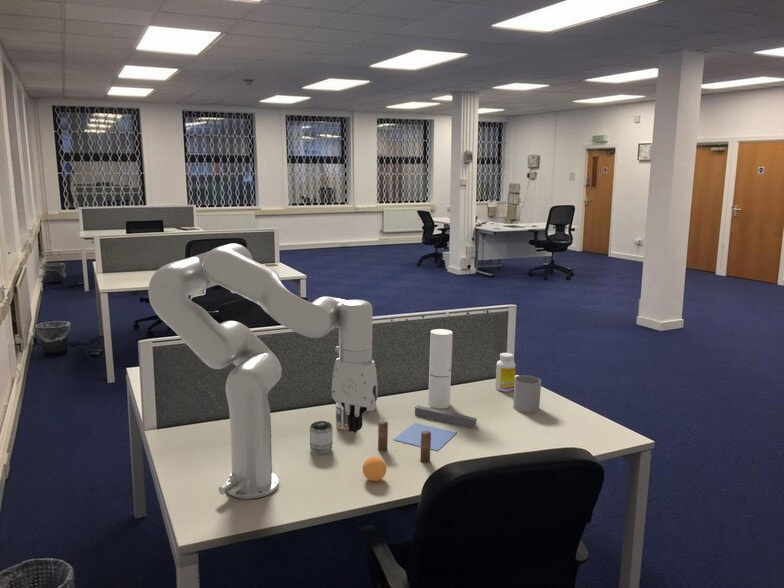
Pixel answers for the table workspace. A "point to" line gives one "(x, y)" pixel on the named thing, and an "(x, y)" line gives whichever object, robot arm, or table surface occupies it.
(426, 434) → the right post
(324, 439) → the camera lens
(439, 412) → the wall
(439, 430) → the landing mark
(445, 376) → the cylindrical container
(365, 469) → the ball
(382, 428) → the left post
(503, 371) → the supplement bottle
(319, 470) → the table surface
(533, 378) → the cup
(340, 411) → the pill bottle
